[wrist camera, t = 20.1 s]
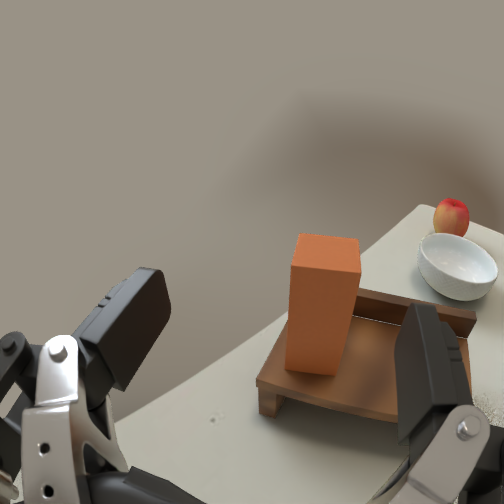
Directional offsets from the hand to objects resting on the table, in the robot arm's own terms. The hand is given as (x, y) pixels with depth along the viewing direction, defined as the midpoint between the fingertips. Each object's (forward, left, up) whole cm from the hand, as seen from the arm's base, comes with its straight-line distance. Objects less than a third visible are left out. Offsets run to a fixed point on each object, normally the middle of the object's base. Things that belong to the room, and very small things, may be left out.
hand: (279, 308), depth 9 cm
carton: (-1, +13, -18) cm, 22 cm away
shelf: (+6, +14, -26) cm, 30 cm away
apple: (+22, +64, -26) cm, 73 cm away
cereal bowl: (+20, +43, -26) cm, 54 cm away
